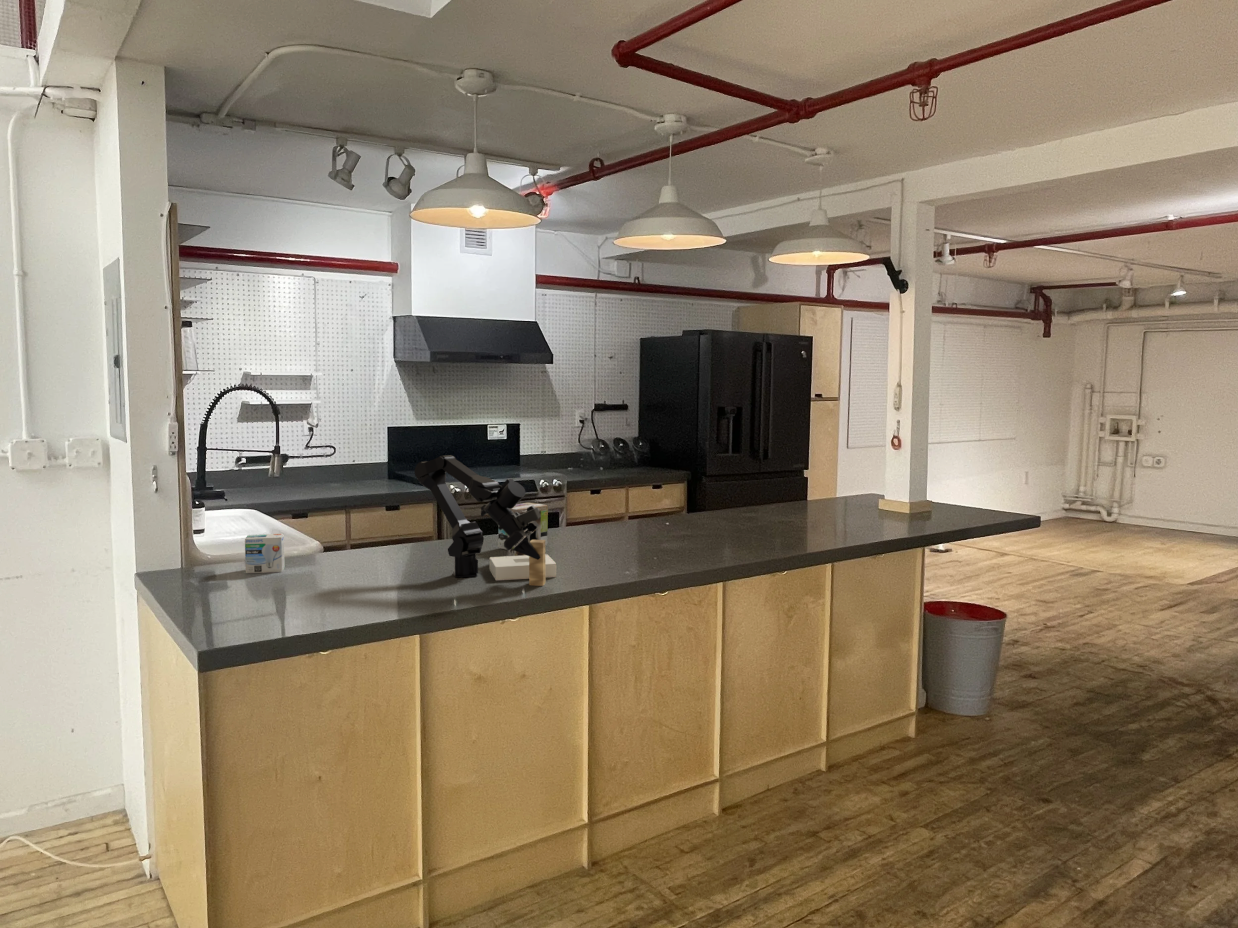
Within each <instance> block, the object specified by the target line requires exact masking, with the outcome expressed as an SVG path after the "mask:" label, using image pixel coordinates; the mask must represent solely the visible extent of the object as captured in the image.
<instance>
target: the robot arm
mask: <svg viewBox="0 0 1238 928" xmlns="http://www.w3.org/2000/svg"><path fill="white" fill-rule="evenodd" d="M447 474H449V475H450V476H451V477H453V478H454V479H455V480H456V481H458V482H459V483H461V484H462V485H464V487H466V488H467V489H468V493H469V495H471V497H472V498H473V499H475V501H476V502H479V503H481V502H488V501H489V502H488V503H487V504H483V505H482V506H480V517H484V516H485V515H488V516H489V517H490V518H491V519H492V520H493V521H494V522H495V523H496V524H497V526H498V527H497V528H499V529H500V530H502V529H503V530H504V531H505V533H506V534H507V535H508V536H509V537H508V538H507V539H506V540H505V541H504V547H505V548H506V549H507V550H506V549H505V550H506V551H507V552H508V551H509V550H511V549H512V547H513V546H514V545H515V546H516V547H515V548H514V549H513V551H517V552H520V553H522V554H525V555H527V556H530V557H532V558H535V559H537V560H539V559H540V558H541V557H540V555H539V554H538V552H537V551H536V550H535V548H534V547H533V545H532V544H531V543H530V541H531V540H539V539H538V537H537V533H538V529H537V528H538V527H539V524H538V523H537V522H536V520H538V519H539V518H541V515H540V513H539V512H540V510H539V509H538V508H537V507H536V508H535V507H534V506H530V507H528V508H527V512H525V513H523V514H521V515H520V514H519V513H518V512H515V513H514V512H513V511H512V510H511V508H513V507H514V506H515V505H516V504H519V502H520V501H521V500H522V499H523V498H524V497H525V496H526V489H525V488H524V486H523V485H521V484H520V483H519V482H517V481H515V479H513V478H507V479H506V480H505V481H504V483H503V484H502V485H500V483H499V482H497V481H496V480H494V479H492V478H491V477H490V478H489V477H486V476H481V475H479V474H478V473H476V472H474V471H473V470H472V469H470V468H469V467H467V465H464V463H462V462H461V461H459V460H457V458H456V457H455V456H454V455H452V454H450V455H449V454H447V455H440V456H438V457H436V458H434V459H431V460H428V461H427V460H426V461H420V462H417V464H416V465H415V468H414V476H415V478H416V479H417V481H418V482H419V483H420V485H422V486H423V487H424V488H426V489H428V490H429V491H430V492H431V493H432V496H433V497H434V499H435V500H436V502H437V505H438V506H439V507H440V509H441V511H442V513H443V515H444V516H445V518H446V520H447V521H448V523H449V525H450V527H451V529H452V530H451V531H452V532H451V539H452V543H451V544H450V546H448V548H447V553H448V556H449V557H453V572H452V573H453V576H454V577H455V578H467V577H468V578H469V577H470V578H471V577H477V576H478V574H479V560H478V558H477V554H481V552H482V548H483V546H484V545H483V544H484V540H485V538H484V535H483V533H484V532H483V530H481V529H480V527H479V524H478V522H477V521H471V522H470V521H469V520H468V519H467V518H466V516H465V514H464V512H463V511H462V509H461V508H460V506H459V504H458V503H457V501H456V499H455V497H454V496H453V494H452V492H451V489H450V488H449V487H448V485H447V483H446V475H447ZM546 552H547V551H545V554H547V553H546Z"/></svg>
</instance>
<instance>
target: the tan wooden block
mask: <svg viewBox="0 0 1238 928" xmlns="http://www.w3.org/2000/svg"><path fill="white" fill-rule="evenodd" d="M530 543H531V544H532V545H533V547H534V548H535V550H536V551H537V552H538V554H539V555H540V557H541V558H540V559H539V560H537V559H535V558H532V557H530V556H529V580H528V581H529V582H528V583H529V584H528V586H536V587H537V586H539V587H541V586H542V587H543V586H544V585H545V584H546V578H545V552H546V546H545V540H531V541H530Z"/></svg>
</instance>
